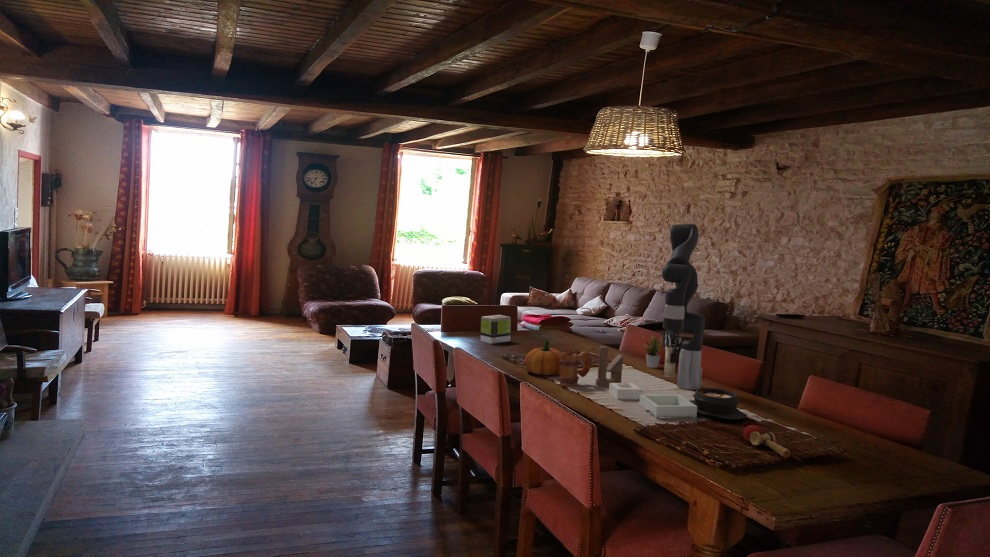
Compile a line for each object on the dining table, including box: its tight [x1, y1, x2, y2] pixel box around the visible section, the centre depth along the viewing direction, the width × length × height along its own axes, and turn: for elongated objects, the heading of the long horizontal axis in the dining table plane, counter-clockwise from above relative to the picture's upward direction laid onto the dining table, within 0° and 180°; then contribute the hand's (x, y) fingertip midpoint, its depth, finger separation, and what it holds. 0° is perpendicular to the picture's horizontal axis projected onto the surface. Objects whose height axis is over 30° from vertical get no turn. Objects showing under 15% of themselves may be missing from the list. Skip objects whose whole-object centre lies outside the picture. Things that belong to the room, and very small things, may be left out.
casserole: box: [688, 387, 748, 421], centre depth 247 cm, size 25×19×8 cm
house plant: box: [642, 334, 665, 369], centre depth 325 cm, size 14×14×16 cm
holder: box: [608, 382, 642, 400], centre depth 264 cm, size 10×10×5 cm
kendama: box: [742, 424, 792, 458], centre depth 211 cm, size 8×6×18 cm
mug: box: [557, 350, 592, 388], centre depth 280 cm, size 15×8×15 cm, turn 105°
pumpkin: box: [524, 340, 563, 376], centre depth 302 cm, size 19×19×15 cm
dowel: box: [663, 347, 677, 378], centre depth 246 cm, size 4×4×11 cm
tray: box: [639, 394, 698, 419], centre depth 247 cm, size 16×16×4 cm
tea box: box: [480, 314, 512, 345], centre depth 375 cm, size 15×10×15 cm, turn 130°
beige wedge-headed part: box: [595, 345, 624, 388], centre depth 280 cm, size 4×11×18 cm, turn 111°
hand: (670, 361), depth 246 cm, fingers closed on dowel, 4 cm apart
